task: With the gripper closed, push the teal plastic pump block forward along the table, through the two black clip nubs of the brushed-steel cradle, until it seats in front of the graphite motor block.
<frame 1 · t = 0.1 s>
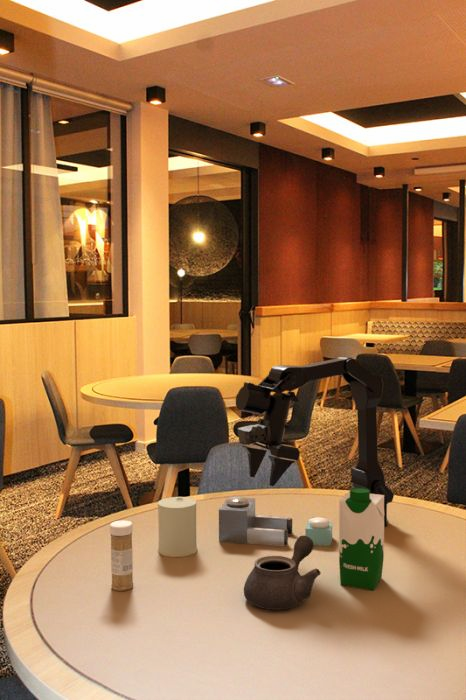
hand: (261, 481, 170), 15 cm above the table, tool pointing down, fingers open, 9 cm apart
motor mount: (266, 537, 176), on the table
teapot: (288, 596, 142), on the table
milk carton: (361, 582, 149), on the table
can: (177, 550, 168), on the table
pump: (318, 541, 173), on the table
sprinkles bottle: (122, 588, 146), on the table
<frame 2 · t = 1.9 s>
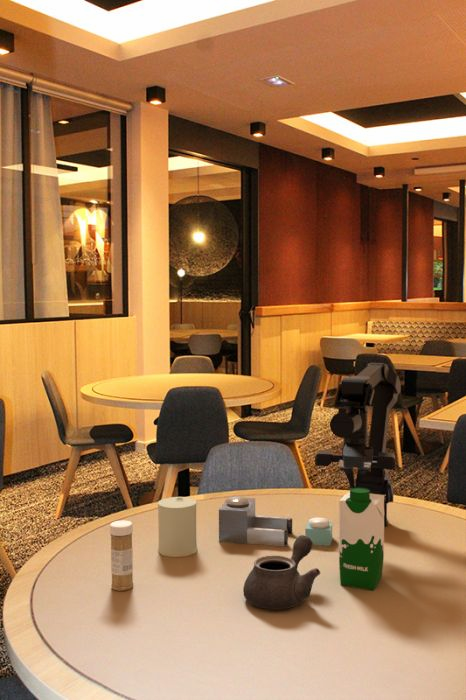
hand: (354, 494, 171), 12 cm above the table, tool pointing down, fingers closed
nothing on the table moved.
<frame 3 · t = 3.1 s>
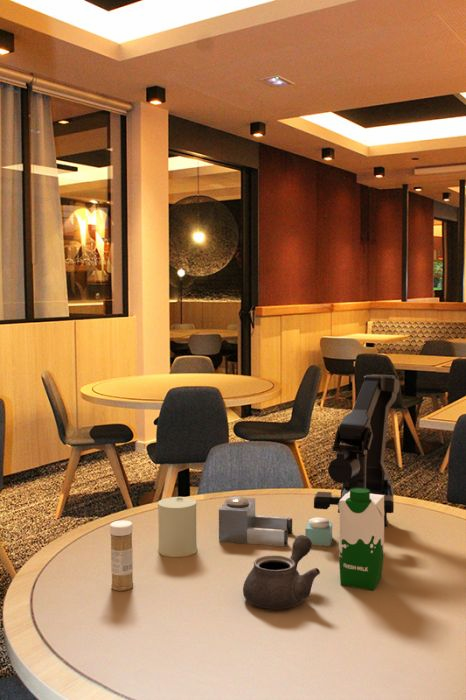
hand: (353, 536, 172), 2 cm above the table, tool pointing down, fingers closed
nothing on the table moved.
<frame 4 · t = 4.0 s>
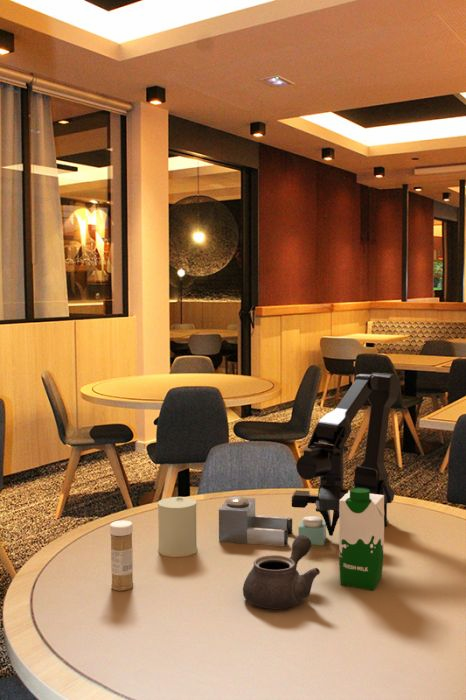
hand: (331, 535, 173), 2 cm above the table, tool pointing down, fingers closed
pump: (312, 540, 174), on the table, touching gripper
everything else where it was.
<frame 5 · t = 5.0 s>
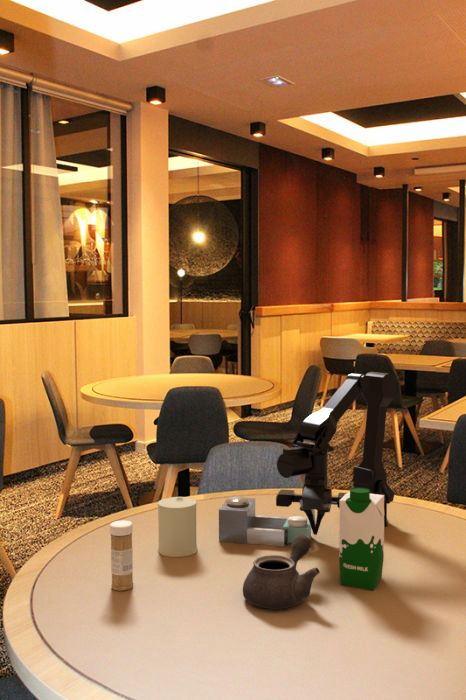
hand: (315, 534, 173), 2 cm above the table, tool pointing down, fingers closed
pump: (297, 539, 175), on the table
everything else where it was.
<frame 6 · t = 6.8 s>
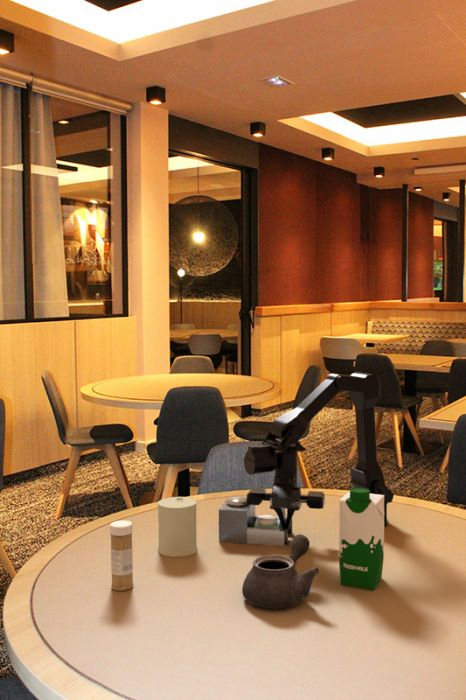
hand: (285, 532, 175), 2 cm above the table, tool pointing down, fingers closed
pump: (267, 538, 176), resting in motor mount
everything else where it was.
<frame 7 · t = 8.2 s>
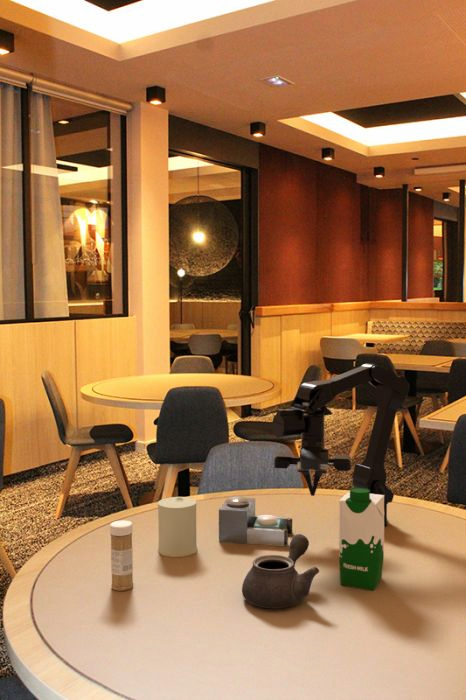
hand: (312, 495, 178), 10 cm above the table, tool pointing down, fingers closed
nothing on the table moved.
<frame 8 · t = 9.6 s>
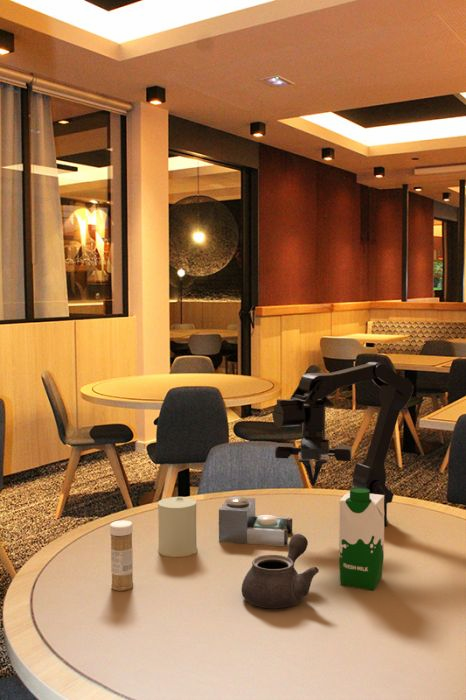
hand: (313, 485, 179), 12 cm above the table, tool pointing down, fingers closed
nothing on the table moved.
at the end: pump inside the target area (0.6 cm from its centre), resting in motor mount; pump tilted 0° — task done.
